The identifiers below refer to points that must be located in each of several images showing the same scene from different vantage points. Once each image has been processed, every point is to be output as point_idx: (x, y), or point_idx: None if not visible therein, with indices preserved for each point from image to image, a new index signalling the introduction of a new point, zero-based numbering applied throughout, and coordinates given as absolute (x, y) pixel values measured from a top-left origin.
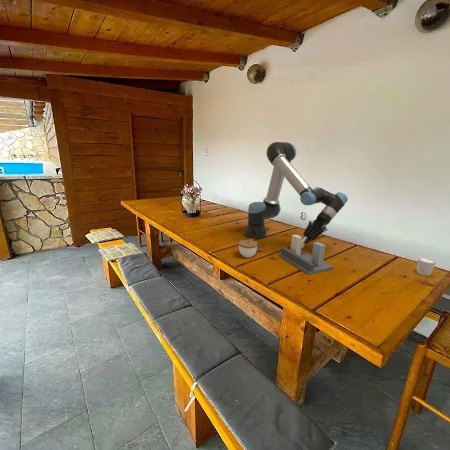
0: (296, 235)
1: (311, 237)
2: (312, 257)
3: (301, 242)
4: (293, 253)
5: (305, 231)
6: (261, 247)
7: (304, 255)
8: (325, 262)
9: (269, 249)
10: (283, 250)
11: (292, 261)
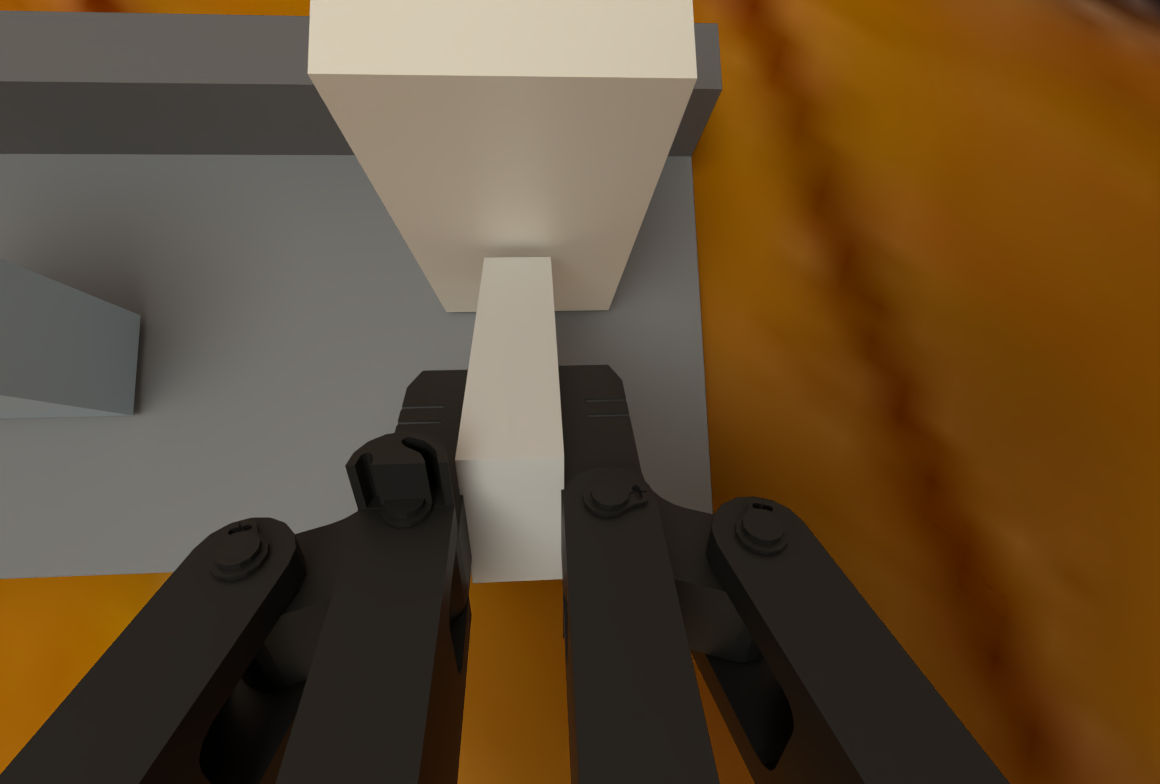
0: (588, 8)
1: (225, 536)
2: (41, 283)
3: (372, 183)
4: None
5: (819, 647)
6: (1040, 28)
7: None
8: (35, 575)
9: (935, 97)
10: None
11: None
